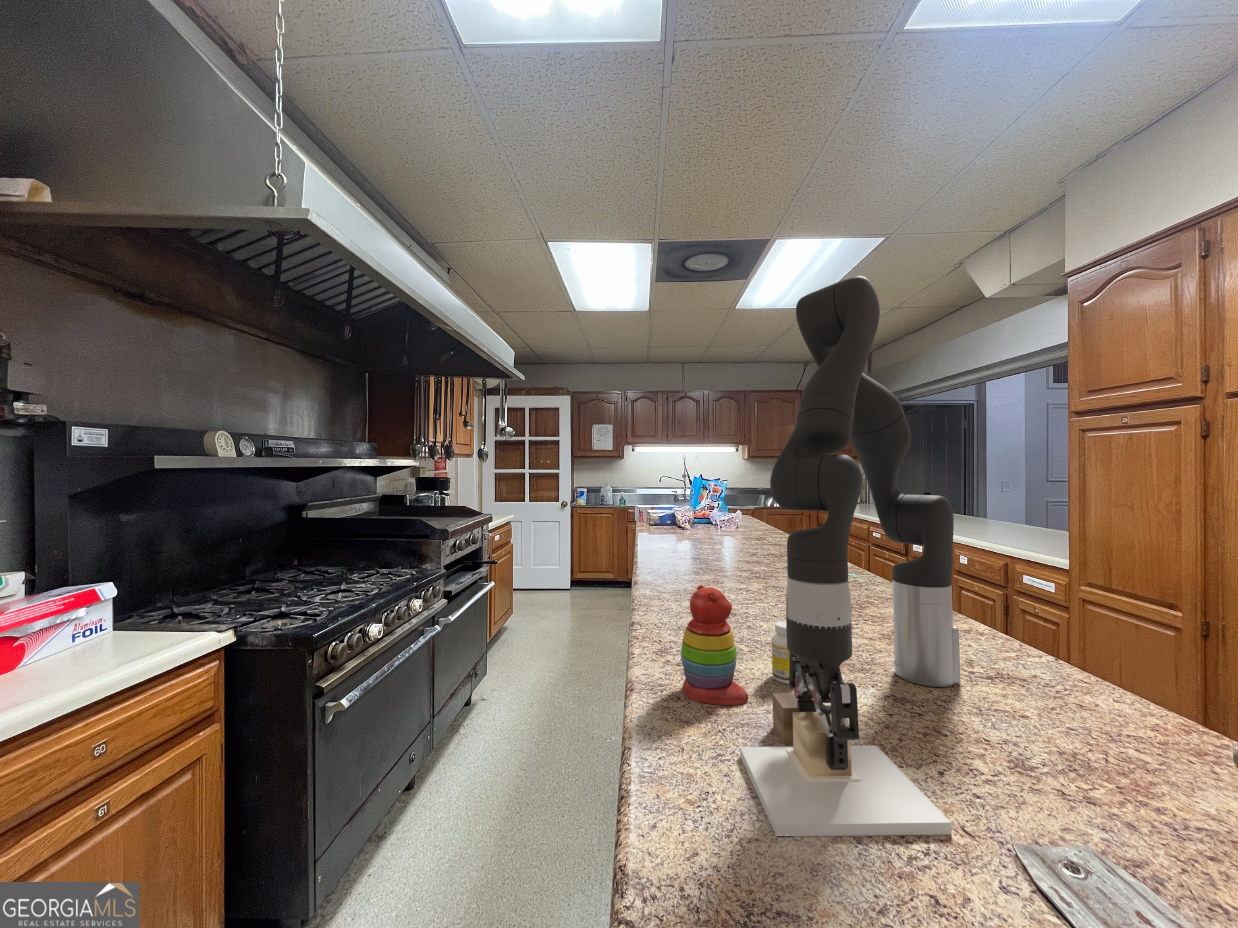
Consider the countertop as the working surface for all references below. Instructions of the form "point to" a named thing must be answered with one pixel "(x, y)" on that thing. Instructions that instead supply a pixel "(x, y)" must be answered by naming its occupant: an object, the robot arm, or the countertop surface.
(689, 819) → the countertop surface
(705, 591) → the stacking bear
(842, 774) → the oak block
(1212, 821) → the countertop surface
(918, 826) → the build board
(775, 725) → the walnut block
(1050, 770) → the countertop surface
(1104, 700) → the countertop surface
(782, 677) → the supplement bottle
